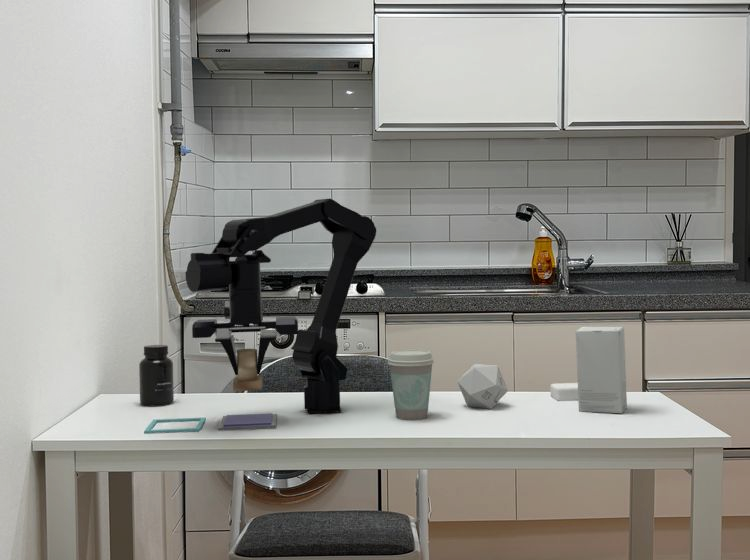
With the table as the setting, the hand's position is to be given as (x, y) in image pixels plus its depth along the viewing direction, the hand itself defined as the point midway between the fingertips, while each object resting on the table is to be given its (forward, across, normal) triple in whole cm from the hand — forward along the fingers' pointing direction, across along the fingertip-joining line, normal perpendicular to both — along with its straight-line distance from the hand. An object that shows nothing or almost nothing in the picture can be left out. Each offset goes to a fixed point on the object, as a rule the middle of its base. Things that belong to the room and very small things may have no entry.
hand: (247, 374), depth 152 cm
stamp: (+2, 0, 0) cm, 3 cm away
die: (+9, -45, -7) cm, 46 cm away
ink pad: (+9, 0, 0) cm, 9 cm away
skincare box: (+9, -66, +1) cm, 67 cm away
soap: (+10, -65, -12) cm, 67 cm away
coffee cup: (+9, -30, 0) cm, 31 cm away
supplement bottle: (+9, +20, -23) cm, 32 cm away
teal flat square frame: (+9, +13, 0) cm, 16 cm away
